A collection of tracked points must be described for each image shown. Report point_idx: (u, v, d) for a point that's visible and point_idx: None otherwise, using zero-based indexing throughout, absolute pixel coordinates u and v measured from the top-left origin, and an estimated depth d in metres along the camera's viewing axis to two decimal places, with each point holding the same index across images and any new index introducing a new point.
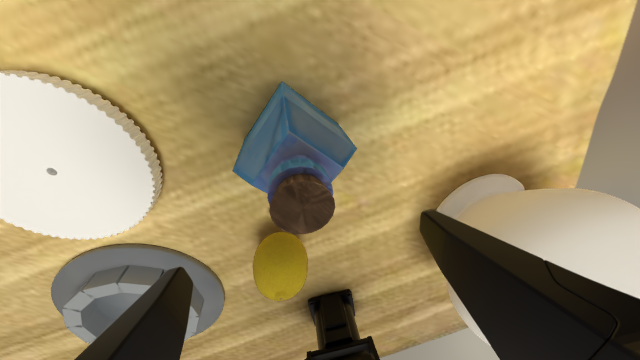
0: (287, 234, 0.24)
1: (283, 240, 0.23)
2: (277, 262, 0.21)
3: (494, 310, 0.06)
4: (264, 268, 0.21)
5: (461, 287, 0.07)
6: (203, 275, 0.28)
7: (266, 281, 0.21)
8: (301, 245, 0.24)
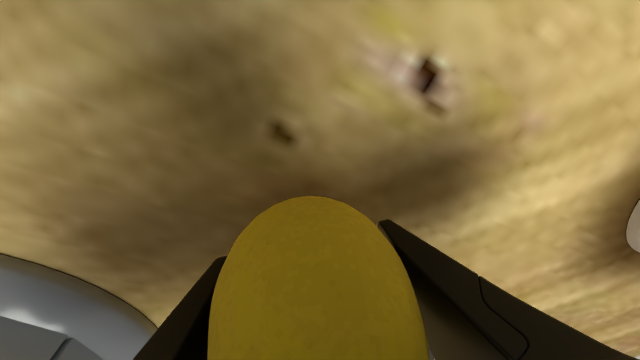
0: (334, 201, 0.07)
1: (329, 217, 0.06)
2: (317, 325, 0.04)
3: (434, 325, 0.06)
4: (250, 355, 0.04)
5: None
6: (96, 318, 0.10)
7: None
8: (385, 238, 0.07)
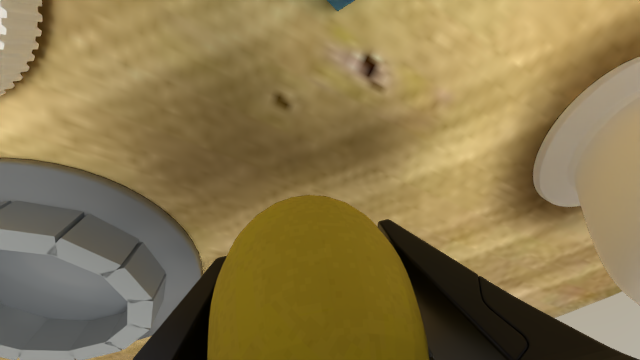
0: (334, 200, 0.07)
1: (328, 216, 0.06)
2: (317, 323, 0.04)
3: (434, 325, 0.06)
4: (250, 353, 0.04)
5: None
6: (159, 227, 0.16)
7: None
8: (385, 237, 0.07)
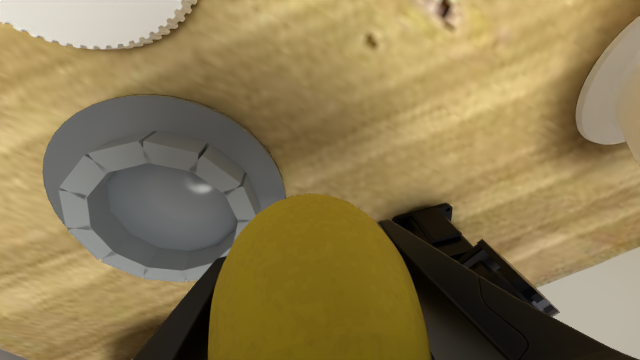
0: (335, 199, 0.07)
1: (330, 215, 0.06)
2: (318, 322, 0.04)
3: (434, 325, 0.06)
4: (251, 352, 0.04)
5: None
6: (262, 158, 0.19)
7: None
8: (387, 236, 0.07)
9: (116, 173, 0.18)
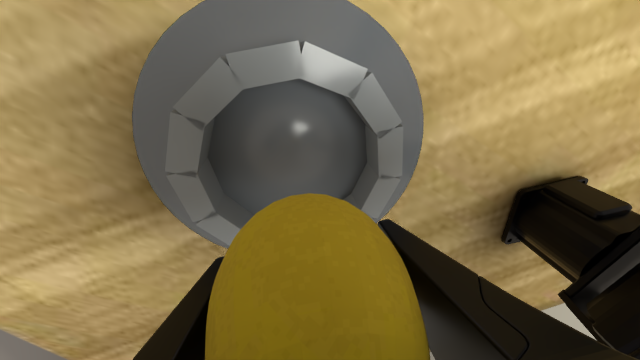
0: (334, 198, 0.07)
1: (328, 214, 0.06)
2: (315, 323, 0.04)
3: (434, 325, 0.06)
4: (247, 352, 0.04)
5: None
6: (411, 96, 0.14)
7: None
8: (385, 236, 0.07)
9: (229, 104, 0.13)
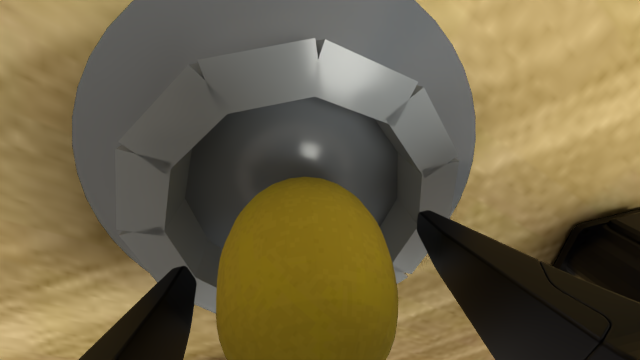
0: (326, 181, 0.08)
1: (319, 192, 0.07)
2: (302, 270, 0.05)
3: (490, 311, 0.06)
4: (249, 291, 0.05)
5: (457, 288, 0.07)
6: (463, 115, 0.11)
7: (255, 351, 0.05)
8: (370, 213, 0.08)
9: (212, 128, 0.09)
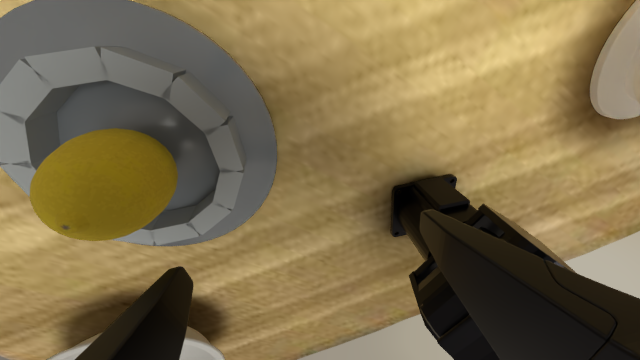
0: (133, 130, 0.13)
1: (110, 131, 0.12)
2: (66, 157, 0.10)
3: (494, 310, 0.06)
4: (39, 169, 0.10)
5: (461, 287, 0.07)
6: (252, 98, 0.16)
7: (36, 192, 0.10)
8: (156, 148, 0.13)
9: (69, 101, 0.14)
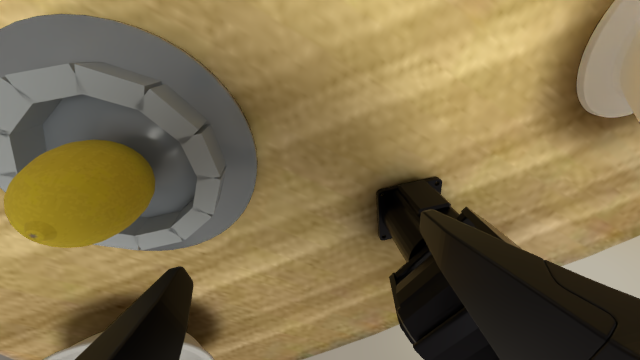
0: (109, 141, 0.14)
1: (84, 143, 0.13)
2: (36, 169, 0.11)
3: (494, 310, 0.06)
4: (12, 180, 0.11)
5: (461, 287, 0.07)
6: (227, 107, 0.16)
7: (7, 203, 0.11)
8: (129, 158, 0.14)
9: (53, 114, 0.15)
